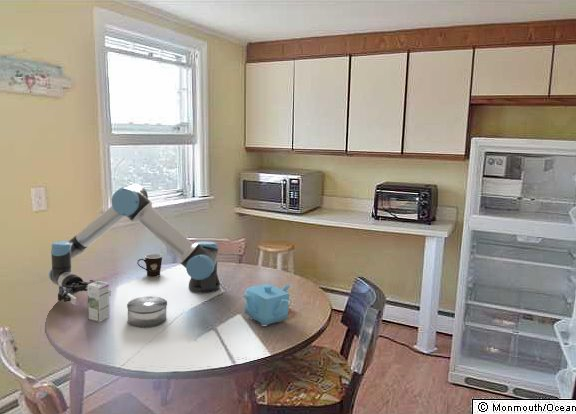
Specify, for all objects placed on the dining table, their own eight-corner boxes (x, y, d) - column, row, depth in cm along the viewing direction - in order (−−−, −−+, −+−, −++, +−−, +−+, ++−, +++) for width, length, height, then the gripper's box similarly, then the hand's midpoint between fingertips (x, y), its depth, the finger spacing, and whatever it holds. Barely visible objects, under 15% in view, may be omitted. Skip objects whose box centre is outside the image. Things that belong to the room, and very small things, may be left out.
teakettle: (248, 309, 182) (249, 277, 179) (290, 312, 180) (292, 280, 178) (239, 328, 163) (241, 292, 161) (287, 332, 162) (289, 297, 159)
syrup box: (110, 316, 166) (109, 282, 163) (98, 322, 160) (98, 287, 158) (98, 314, 167) (98, 279, 165) (87, 319, 162) (86, 284, 159)
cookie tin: (162, 310, 175) (162, 294, 174) (170, 324, 163) (171, 308, 161) (124, 315, 168) (124, 299, 167) (130, 331, 155) (130, 313, 154)
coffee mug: (164, 272, 221) (165, 254, 219) (158, 278, 213) (158, 259, 211) (143, 270, 222) (143, 252, 220) (136, 275, 214) (136, 257, 212)
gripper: (99, 284, 188) (123, 298, 174) (39, 298, 169) (59, 314, 156) (99, 268, 187) (123, 281, 173) (38, 280, 168) (59, 295, 154)
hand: (93, 297), depth 164 cm, fingers open, 13 cm apart
